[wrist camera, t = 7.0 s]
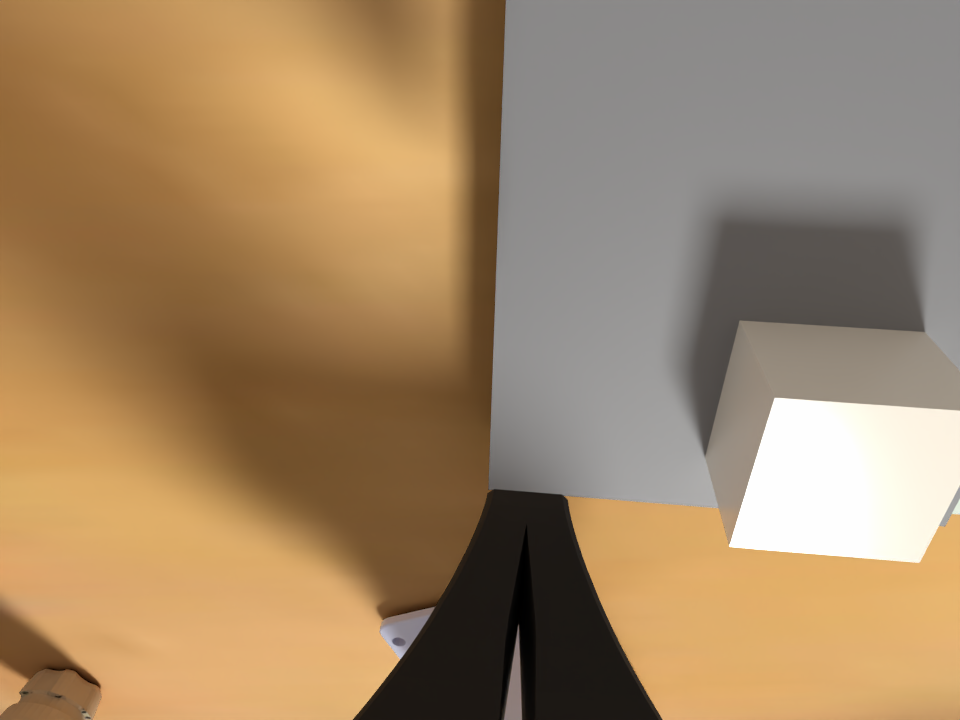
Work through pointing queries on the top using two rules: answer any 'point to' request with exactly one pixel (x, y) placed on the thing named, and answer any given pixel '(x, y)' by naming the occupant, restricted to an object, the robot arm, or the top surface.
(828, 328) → the block
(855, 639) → the top surface
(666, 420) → the plate
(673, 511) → the top surface
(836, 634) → the top surface
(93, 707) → the handle
